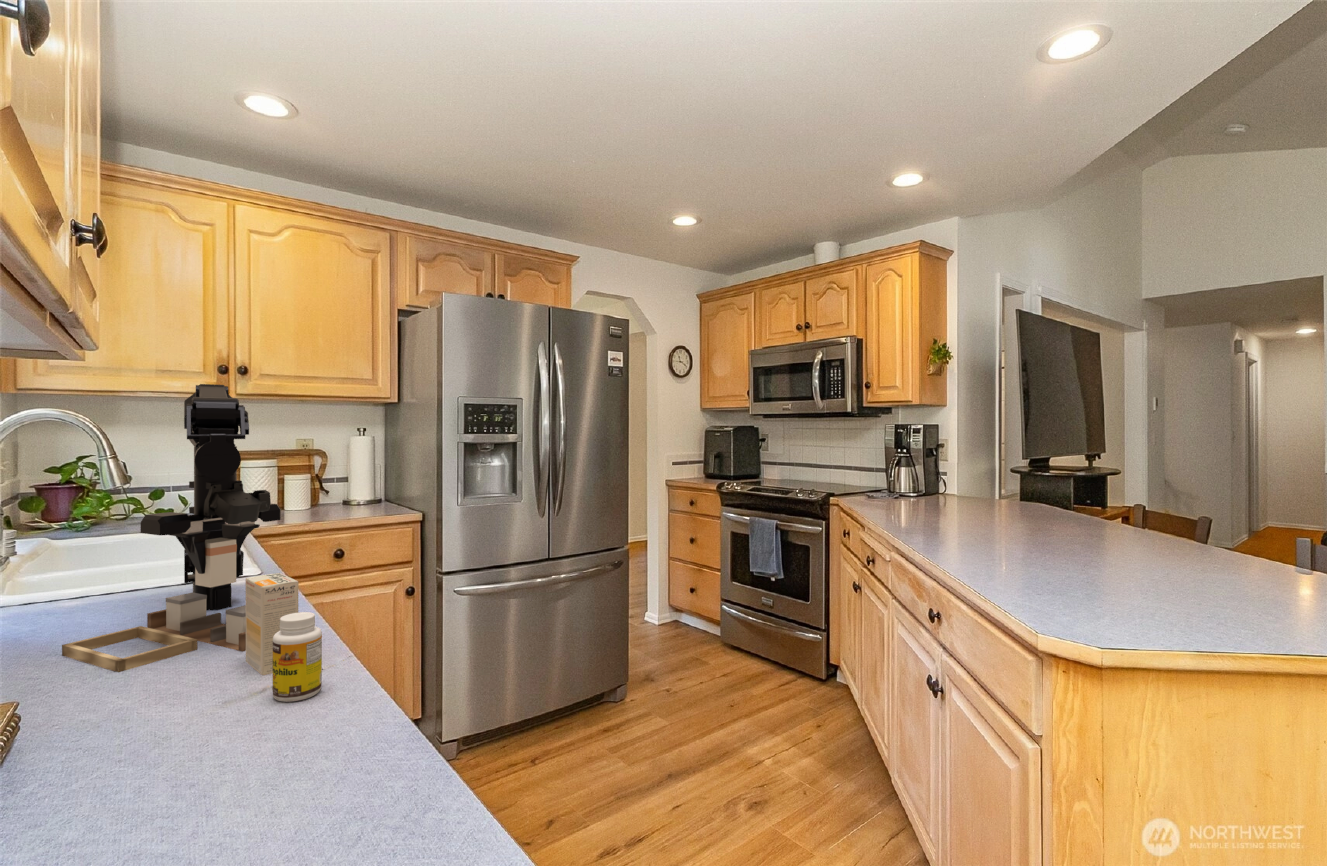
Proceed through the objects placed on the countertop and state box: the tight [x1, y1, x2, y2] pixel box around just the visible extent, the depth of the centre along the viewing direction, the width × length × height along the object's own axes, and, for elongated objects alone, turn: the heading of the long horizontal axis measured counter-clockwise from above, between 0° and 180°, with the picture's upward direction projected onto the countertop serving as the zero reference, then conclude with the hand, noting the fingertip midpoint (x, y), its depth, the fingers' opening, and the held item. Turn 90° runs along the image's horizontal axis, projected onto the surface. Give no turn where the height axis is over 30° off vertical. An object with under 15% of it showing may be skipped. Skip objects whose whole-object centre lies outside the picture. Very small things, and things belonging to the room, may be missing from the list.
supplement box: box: [245, 572, 299, 676], centre depth 92 cm, size 8×5×13 cm, turn 47°
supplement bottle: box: [271, 611, 323, 703], centre depth 84 cm, size 6×6×10 cm
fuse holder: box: [146, 608, 246, 653], centre depth 105 cm, size 25×7×4 cm, turn 65°
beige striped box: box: [195, 538, 237, 588], centre depth 105 cm, size 4×4×7 cm
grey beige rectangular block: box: [165, 591, 207, 631], centre depth 108 cm, size 4×4×5 cm
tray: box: [61, 625, 198, 673], centre depth 96 cm, size 15×10×2 cm, turn 65°
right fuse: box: [225, 604, 246, 645], centre depth 101 cm, size 4×4×5 cm
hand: (215, 570), depth 105 cm, fingers closed on beige striped box, 4 cm apart
